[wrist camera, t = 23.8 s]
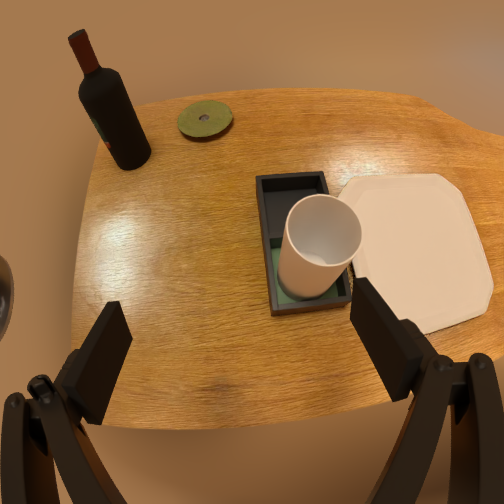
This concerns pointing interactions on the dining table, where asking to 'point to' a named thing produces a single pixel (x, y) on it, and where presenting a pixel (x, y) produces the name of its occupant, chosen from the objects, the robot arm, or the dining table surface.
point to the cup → (317, 245)
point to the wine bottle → (109, 107)
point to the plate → (420, 248)
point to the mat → (204, 118)
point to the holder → (272, 230)
